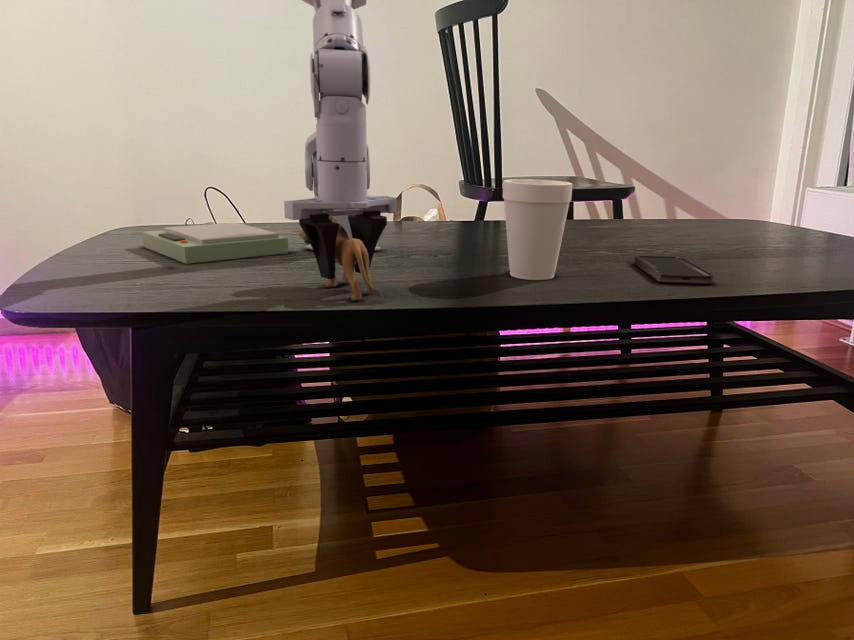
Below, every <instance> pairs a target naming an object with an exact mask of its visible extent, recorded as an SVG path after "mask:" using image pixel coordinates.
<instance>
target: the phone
mask: <svg viewBox="0 0 854 640" xmlns="http://www.w3.org/2000/svg"><path fill="white" fill-rule="evenodd" d="M633 263H634V265H635V266H637V267H638V268H640V269H641V271H644V272H645V273H646V274H648V275H649V276H651V278H653V279H654V280H656V281H657V282H660V283H665V284H698V285H699V284H700V285H701V284H702V285H710V284H712V283H713V279H714V278H713V277H714V275H713V274H712V273H710V272H708V271H707V270H705V269H704V268H701V267H699V266H697V265H696V264H694V263H692V262H690V261H689V260H687V259H685V258H684V257H680V256H661V255H660V256H656V255H636V256H634V262H633Z"/></svg>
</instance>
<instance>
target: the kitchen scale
mask: <svg viewBox="0 0 854 640" xmlns="http://www.w3.org/2000/svg"><path fill="white" fill-rule="evenodd" d="M142 241H143V248H145V249H148V250H150V251H153V252H155V253H158V254H160V255H163V256H166V257H168V258H171V259H173V260H175V261H178V262H180V263H183V264H186V265H188V264H189V265H190V264H197V263H198V264H200V263H206V262H207V263H208V262H217V261H226V260H235V259H236V260H237V259H245V258H246V259H247V258H256V257H267V256H275V255H285V254H289V238H288V237H286V236H281V235H279V233H278V232H274V231H269V230H267V229H262V228H259V227H255V226H251V225H247V224H244V223H240V222H225V223H223V222H222V223H207V224H194V225H181V226H180V225H178V226H167V227H165V226H164V227H163V230H162V229H161V230H150V231H142Z"/></svg>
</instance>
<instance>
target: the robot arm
mask: <svg viewBox="0 0 854 640" xmlns="http://www.w3.org/2000/svg"><path fill="white" fill-rule="evenodd" d="M301 1H302V2H304V3H306V4H308V5H310V6H311V7H313V9H314V11H315V12H314V14H313V19H312V38H313V40H312V41H313V43H312V45H313V52H310V56H309V72H310V75H309V76H310V94H311V98H312V103H313V113H314V118H315V120H316V124H315V132H313V133H312V134H310V135H309V136H308V137H307V138H306V141H305V142H304V175H305V188H307V189H308V191H310V192H313V195H314V197H312V198H304V199H296V200H295V199H294V200H284V201H283V208H284V209H283V210H284V219H287V220H292V221H298V224H299V226H300V228H301V230H303V231H304V233H305V234H306V236H307V238H308V240H309V242H310V245H306V244H305V249H307V250H311V251H313V254H314V257H315V260H316V263H317V267H318V272H319V275H320V277H321V278H324V279H326V280H329V279H334V278H335V276H336V263H335V248H336V239H337V234H338V230H339V226H340V225H339V224H338V223H335V222H332V219H329V217H334V219H336V220H337V221H338V222H339V223H340V224H341V225H342V226H343V228H344V229H345V231H346V232H347V235H348V237H349V238H350V239H351V238H354V239H359V240H361V241H362V242H363V244H364V246H365V248H366V249H367V252H368V256H369V271H370V269H371V264H372V261H373V258H374V253H375V252H376V251H381V250H382V247H381V246H379V239H380V237H381V235H382V233H383V232H384V230H385V228H386V227H387V225H388V217H387V216H385V215H382V214H397V197H395V196H389V195H381V196H379V195H378V196H377V195H374V196H373V195H370V194H368V190H369V189H370V187H371V162H370V153H369V151H370V149H369V148H370V147H369V144H368V141H367V105H369V100H370V96H371V63H370V59H369V54H368V50H367V48H366V47H367V46H364V38H363V37H364V36H363V26H362V20H361V17H360V15H359V13H358V12H357V10H356V9H359V8H361V7H364V6H366V5H367V0H301ZM363 97H364V99H365V103H366V105H365V104H364V103H363ZM354 273H358V274H361V272H360V269H359V265H358V262H357V263H356V264H355V266H354Z"/></svg>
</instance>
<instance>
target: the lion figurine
mask: <svg viewBox="0 0 854 640" xmlns="http://www.w3.org/2000/svg"><path fill="white" fill-rule="evenodd" d="M329 219H332V222H335V223H338V224H339V225H340V226H339V230H338V234H337V239H336V248H335V264H336V265H337V264H338V265H339V266H341V267H342V271H343V274H342V283H344V284H346V283H347V284H348V283H349V284H350V286H351V288H352V290H353V294H351V296H350V298H351V301H354V302H355V301H360V300H362V292H361V288H360V284H359V282H358V280H357V278H356V275H355V268H354V266H355V264H356V263H357V262H358V265H359V269H360V272H361V273H360V275H361V278H362V280H363V283H364V284H365V286H364V291H365V292H369V293H371V294H372V295H373V296H374V297H377V298H380V297H382V295H383V294H382V293H381V292H380V291H379V290H377V289H375V288H374V286H373V283H372V279H371V275H370V274H371V273H370V270H369V256H368V252H367V249H366V248H365V246H364V244H363V242H362V241H361V240H359V239H354V238H351V239H350V238H349V237H348V235H347V232H346V231H345V229H344V228H343V226H342V225H341V224H340V223H339V222H338V221H337V220H336V219H334V217H329ZM298 236H300V238H301V239H302V241H304V244H305V246H306V245H311V244H310V242H309V240H308V238H307V236H306V234H305V233H304V231H303V229H301V230H300V231H299V232H298ZM337 284H338V279H337V275H335V278H334V279H328V281H326V282H325V284H324V286H325V288H334V287H336V286H337Z"/></svg>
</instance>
